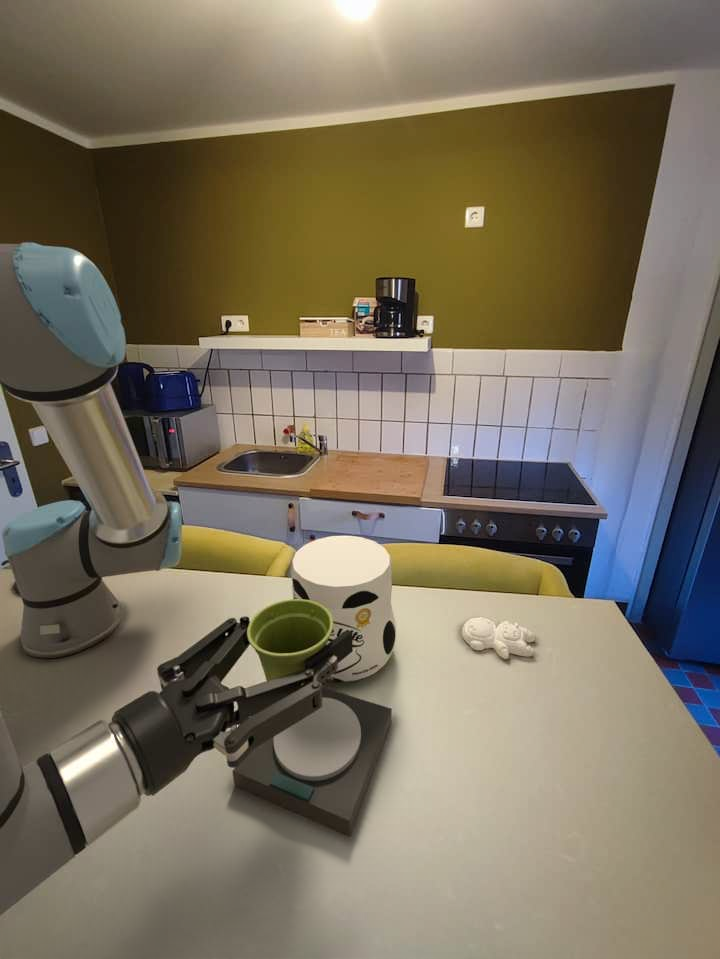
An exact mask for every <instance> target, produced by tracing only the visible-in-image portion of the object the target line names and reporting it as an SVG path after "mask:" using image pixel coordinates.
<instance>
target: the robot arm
mask: <svg viewBox="0 0 720 959" xmlns="http://www.w3.org/2000/svg"><path fill="white" fill-rule="evenodd" d="M121 320H122V316H121V313H120V309H119V307H118V304H117V301H116V299H115V297H114V294H113V292H112V290H111V288H110V286H109V284H108V283H107V280H106V279H105V277H104V276H103V274H102V272H101V271H100V270H99V268H98V267H97V266H96V265H95V264H94V262H93V261H92V260H91V259H89V258H88V257H86V255H84V254H83V253H82V252H80V251H78V250H75V249H74V248H70V247H63V246H51V245H41V244H39V243H35V242H22V243H21V242H20V243H0V384H1V386H2V387H3V388H4V390H5V392H6V393H8V394H9V395H10V396H12V398H15V399H17V400H20V401H22V402H25V403H30V404H31V406H32V407H33V408H34V410H35V412H36V414H37V416H38V417H39V419H40V420H41V423H42V424H43V427H44V428H45V429H46V431H47V433H48V435H49V437H50V438H51V440H52V441H53V444H54V445H55V447H56V449H57V451H58V452H59V454H60V455H61V457H62V459H63V461H64V462H65V464H66V466H67V467H68V469H69V471H70V473H71V475H72V477H73V479H74V480H75V482H76V483H77V485H78V487H79V488H80V491H81V492H82V494H83V495H84V497H85V499H86V501H87V503H88V504H89V506H90V508H91V510H86V509H87V508H86V505H85V504H84V503H83V502H81V501H80V500H73V499H70V500H61V501H56V502H51V503H48V504H44V505H40V506H38V507H35V508H33V509H30V510H28V511H26V512H23V513H22V514H19V515H18V516H16V517H14V518H13V519H12V520H10V521H9V522H8V523H6V525H5V526H4V527H3V529H2V532H1V537H2V542H3V548H4V555H5V557H7V559H6V560H3V561H2V562H1V566H5V565H7V564H9V567H10V569H11V572H12V575H13V577H14V580H15V581H14V583H13V588H14V590H15V591H16V592H17V593H19V595H20V597H21V600H22V601H21V602H22V604H23V610H22V618H21V629H20V642H21V646H22V648H23V650H24V652H25V653H26V654H28V656H31V657H33V658H39V659H54V658H61V657H66V656H70V655H73V654H77V653H79V652H82V651H84V650H86V649H89V648H90V647H93V646H95V645H96V644H98V643H100V642H102V641H103V640H105V639H106V638H107V637H109V636H110V635H111V634H112V633H113V632H114V631H115V630H116V629H117V628H118V626H119V625H120V623H121V621H122V619H123V610H122V606H121V604H120V602H119V600H118V598H117V597H116V595H115V594H114V593H113V592H112V591H111V590H110V588H109V587H108V585H107V584H106V583H105V582H104V580H103V578H107V577H114V576H121V575H128V574H129V575H130V574H135V573H136V574H137V573H145V572H146V573H147V572H153V571H156V572H159V571H161V570H164V569H169V568H175V567H176V566H178V564H180V561H181V559H182V549H183V518H182V517H183V515H182V505H181V504H180V503H179V502H177V501H168V502H167V500H166V497H165V496H164V494H162V493H161V492H160V491H159V490H157V489H155V488H153V487H151V486H150V483H149V480H148V477H147V475H146V472H145V470H144V467H143V464H142V462H141V459H140V456H139V453H138V450H137V448H136V446H135V443H134V441H133V437H132V435H131V433H130V430H129V427H128V424H127V422H126V420H125V417H124V415H123V414H124V413H123V412H122V410H121V406H120V404H119V401H118V399H117V397H116V393H115V391H114V388H113V386H112V382H113V380H114V379H115V378H116V376H117V375H118V374H117V373H118V372H119V364H121V363H122V362H123V361H124V359H125V358H126V351H127V341H126V340H127V339H126V333H125V328H124V326H123V325H122V322H121ZM294 599H297V598H294ZM268 619H270V618H268ZM250 621H251V619H250V617H249V616H245V615H244V616H242V617H240V618H239V622H238V621H237V619H236V618H235V617H231V618H230V617H229V618H228V619H226V620H225V621H223V622H222V623H221V624H219V625H218V626H217V627H216V628H214V629H213V630H212V631H210V632H209V633H208V634H206V635H205V636H204V637H201V639H200V640H198V641H197V642H196V643H194V644H193V645H191V646H190V647H189V648H187V649H186V650H185V651H183V652H182V653H180V654H179V655H178V656H176V657H173V658H172V659H169V660H168V661H165V662H163V663H161V664H159V665H158V666H157V668H156V670H157V676H158V679H159V684H160V688H161V690H160V692H157V691H155V690H149V691H147V692H145V693H144V694H142V695H141V696H139V697H137V698H135V699H134V700H132V701H130V702H129V703H127V704H125V705H124V706H121V708H119V709H117V710H115V711H114V713H113V715H112V716H111V721H110V722H107V721H106V720H101V719H100V720H98V721H97V722H95V723H93V724H91V725H89V726H88V727H87V728H85V729H83V730H81V731H80V732H79V733H76V734H75V735H73V736H72V737H70V738H68V739H67V740H65V741H64V742H61V744H59V745H57V746H56V747H54V748H52V749H51V750H49V751H48V752H46V753H45V754H43V755H41V756H40V757H38V758H36V759H34V760H32V761H30V762H29V763H28V764H26V765H23V767H22V765H21V764H22V763H21V761H20V759H19V757H18V754H17V751H16V748H15V746H14V743H13V741H12V738H11V735H10V733H9V730H8V727H7V724H6V721H5V719H4V717H3V714H2V711H1V710H2V707H1V704H0V916H2V915H3V914H5V912H7V911H8V910H9V909H11V908H12V907H13V906H15V905H16V904H18V902H20V901H21V900H22V899H23V898H24V897H26V896H27V895H28V894H30V893H31V892H33V891H34V890H35V889H36V888H38V886H40V885H41V884H42V883H43V882H45V881H46V880H48V879H49V878H50V877H51V876H53V875H54V874H55V873H56V872H57V871H59V870H60V869H61V868H63V867H64V866H66V864H68V863H69V862H70V861H71V860H73V859H75V857H76V855H79V854H80V853H81V852H83V851H84V850H86V848H87V847H89V846H91V845H92V844H93V843H95V842H96V841H97V840H98V839H100V838H101V837H102V836H104V835H105V834H106V833H107V832H109V831H110V830H111V829H113V828H114V827H115V826H116V825H118V824H119V823H120V822H122V821H123V820H124V819H126V818H127V817H128V816H129V815H131V814H132V813H133V812H135V810H137V809H138V808H139V807H140V804H141V801H142V795H144V796H147V797H150V796H151V797H154V796H155V795H157V794H158V793H159V792H160V791H162V790H163V789H164V788H165V787H167V786H168V785H170V784H171V783H172V782H174V780H176V779H177V778H179V777H180V776H181V775H182V774H183V773H185V772H186V771H187V770H188V769H189V767H190V766H191V764H192V762H194V760H195V759H196V758H197V757H198V756H199V755H201V754H203V753H205V752H209V751H212V750H214V749H215V750H217V751H218V752H219V753H221V754H222V755H223V756H225V759H226V763H227V767H228V768H230V769H231V768H232V769H234V768H235V767H237V766H238V765H239V764H240V763H241V762H242V761H243V760H244V759H245V758H246V757H247V756H248V755H249V754H250V753H251V752H252V750H253V749H255V748H256V747H258V746H260V745H261V744H263V743H265V742H266V741H268V740H270V739H271V738H273V737H274V736H276V735H278V734H279V733H281V732H283V731H284V730H286V729H288V728H289V727H291V726H292V725H294V724H296V723H297V722H299V721H301V720H302V719H304V718H305V717H307V716H309V715H310V714H312V713H314V712H315V711H317V710H319V709H320V708H321V707H322V687H323V685H322V684H323V683H324V682H325V681H326V679H327V678H329V677H330V676H331V675H332V674H333V673H335V672H336V670H337V668H338V663H339V662H340V661H341V660H343V659H344V658H345V657H346V656H348V655H349V654H350V653H351V652H353V646H352V632H351V631H349V630H348V629H347V630H346V631H345V632H343V633H342V634H341V635H339V636H338V637H337V638H335V639H334V640H332V641H331V642H330V643H328V644H327V645H326V646H324V647H323V648H322V649H320V650H319V651H318V652H316V653H315V654H314V655H312V656H311V657H310V658H308V659H307V660H306V661H304V665H305V669H303V670H300V671H297V672H294V673H291V674H288V675H285V676H281V677H278V678H275V679H272V680H269V681H267V680H266V681H263V682H260V683H256V684H253V685H250V686H247V687H244V686H243V685H237V686H233V687H230V688H229V687H228V686H226V685H224V684H223V683H222V682H223V680H224V679H225V678H226V677H227V675H228V674H229V673H230V672H231V671H232V669H233V667H234V666H235V665H236V663H237V662H239V660H240V658H241V657H242V656H243V654H244V653H245V652H246V650H247V649H248V648H249V647H250V646H251V644H250V643H249V640H248V636H247V629H248V626H249V623H250ZM302 683H303V685H301V684H302ZM235 703H236V706H237V709H236V710H235ZM227 729H229V730H228V731H227Z"/></svg>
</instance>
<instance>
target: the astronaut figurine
mask: <svg viewBox="0 0 720 959" xmlns="http://www.w3.org/2000/svg"><path fill="white" fill-rule="evenodd" d="M461 635H462V638H463V639H464V641H465V642H466V643H467V644H468V645H469V646H470V648H471V649H472V650H475V651H483V650H484V649H485V650H487V649H493V650H494V651H495V652H496V654H497V655H498V657H500V658H502V659H503V660H508V659H509V657H510V654H512V655H517V656H520V657H526V658H529V657H531V656H532V657H533V655H534V653H535V650H534V649H533V648H532V646H531V645H528V643H533V642H534V641H535V640H536V634H535V633H533V631H531V630H529V629H528V628H526V627H522V626H519V622H515V623H514V624H513V623H511V622H510V621H508V620H504V621H501V622H500V623H499V624H498V625H497V626H496V624H495V623H494V621H492V620H491V619H488V618H486V617H484V616H478V617H472V618H470V619H468V620H466V621H465V623H464V624H463V626H462V630H461Z"/></svg>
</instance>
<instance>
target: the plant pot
mask: <svg viewBox="0 0 720 959" xmlns="http://www.w3.org/2000/svg"><path fill="white" fill-rule="evenodd" d="M268 618H270V619H268ZM332 630H333V618H332V615H331V614H330V612H329V611H328V610H327V609H326V608H325V607H324V606H322V605H321V604H319V603H317V602H314V601H310V600H304V599H292V598H291V599H284V600H280V601H277V602H274V603H271V604H269V605H267V606H266V607H264V608H262V609H261V610H259V611H258V612H257V613H256V614H255V615H254V616H253V617H252V619H250V623H249V626H248V629H247V636H248V640H249V643H250V646H251V647H252V648H253V649H254V651H255V652H256V654H257V655H258V658H259V661H260V664H261V667H262V671H263V673H264V676H265V680H266V681H269V680H272V679H275V678H278V677H281V676H285V675H288V674H291V673H294V672H297V671H300V670H303V669H305V665H304V661H306V660H307V659H308V658H310V657H311V656H312V655H314V654H315V653H316V652H318V651H319V650H320V649H322V648H323V647H324V646H326V644H327V642H328V638H329V637H330V635H331V633H332ZM301 685H303V683H302V684H301Z"/></svg>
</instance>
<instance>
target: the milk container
mask: <svg viewBox="0 0 720 959" xmlns="http://www.w3.org/2000/svg"><path fill="white" fill-rule="evenodd" d="M290 576H291V581H292V584H291V590H292V591H291V592H292V598H293V599H294V598H297V599H304V600H310V601H314V602H317V603H319V604H321V605H322V606H324V607H325V608H326V609H327V610H328V611H329V612H330V614H331V615H332V618H333V630H332V633H331V635H330V637H329V638H328V642H327V644H328V643H330V642H331V641H332V640H334V639H335V638H337V637H338V636H339V635H341V634H342V633H343V632H345V631H346V630H347V629H348V630H349V631H351V632H352V646H353V652H351V653H350V654H349V655H348V656H346V657H345V658H344V659H343V660H341V661H340V662H339V663H338V668H337V670H336V672H335V673H333V674H332V675H331V676H330V677H329V678H327V679H326V680H325V681H326V682H332V683H336V684H337V683H339V684H340V683H352V682H353V683H354V682H358V681H361V680H364V679H366V678H369V677H372V676H373V675H375V674H376V673H377V672H378V671H380V670H382V669H383V667H384V666H385V665H386V664H387V662H388V661H389V659H390V658H391V657H392V654H393V651H394V648H395V643H396V637H397V621H396V618H395V614H394V611H393V608H392V592H393V581H392V560H391V555H390V554H389V552H388V551H387V549H386V547H384V546H383V545H381V544H379V543H378V542H377V541H374V540H371V539H368V538H366V537H364V536H363V537H362V536H355V535H331V536H326V537H322V538H317V539H314V540H313V541H310V542H308V543H306V544H304V545H303V546H301V548H299V549H298V550H297V551H296V552H295V554H294V556H293V558H292V560H291V570H290ZM327 644H326V645H327Z"/></svg>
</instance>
